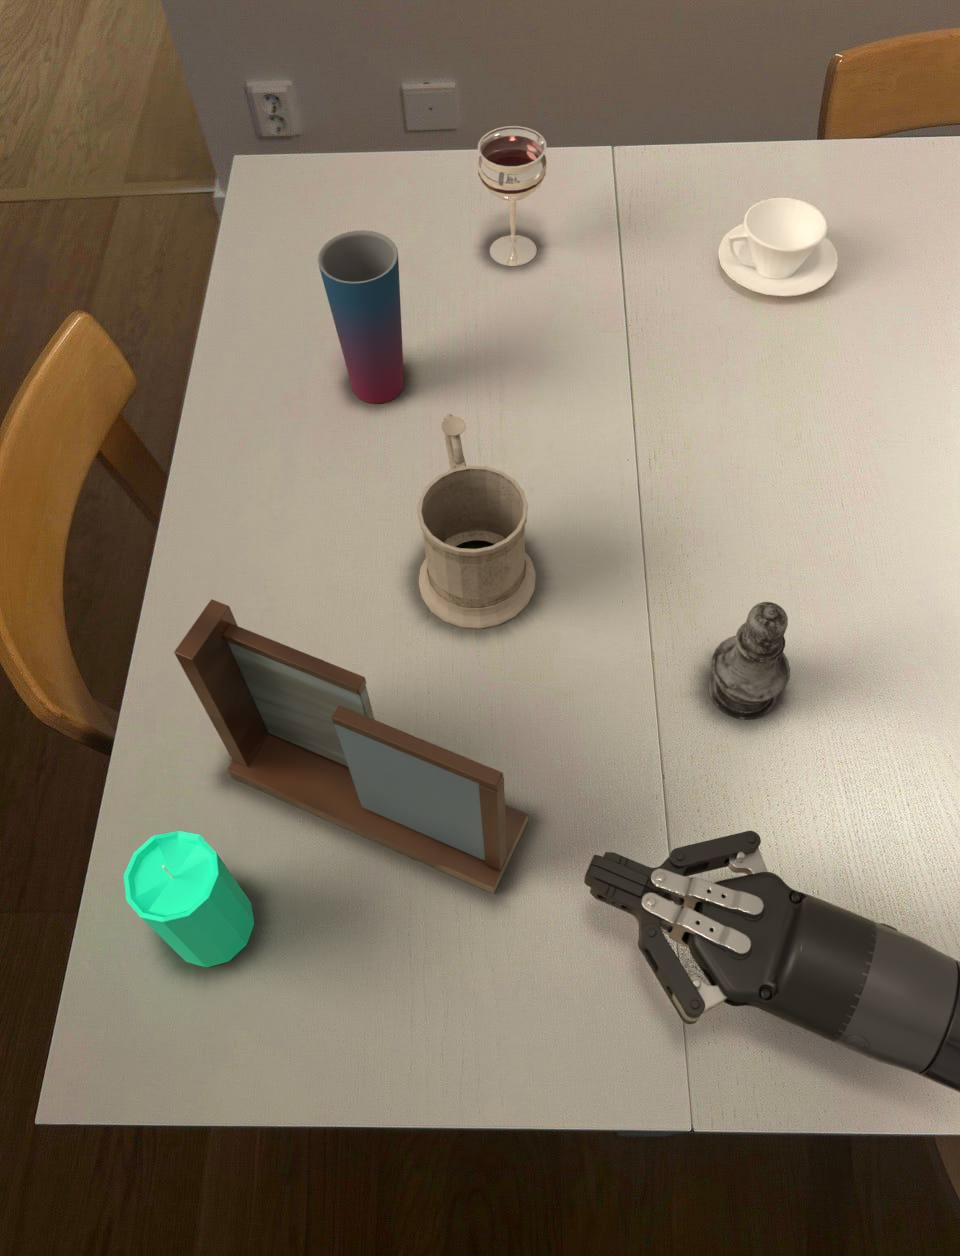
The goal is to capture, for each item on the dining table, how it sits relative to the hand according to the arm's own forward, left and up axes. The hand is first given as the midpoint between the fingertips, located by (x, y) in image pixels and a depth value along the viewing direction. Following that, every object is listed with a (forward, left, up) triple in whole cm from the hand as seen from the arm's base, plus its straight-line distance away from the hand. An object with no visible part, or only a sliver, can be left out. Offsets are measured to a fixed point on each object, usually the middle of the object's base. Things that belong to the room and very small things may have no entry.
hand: (589, 868), depth 68 cm
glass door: (0, +12, -6) cm, 13 cm away
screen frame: (+1, +17, -8) cm, 19 cm away
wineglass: (+62, +33, -8) cm, 71 cm away
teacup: (+70, +7, -8) cm, 71 cm away
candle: (-12, +23, -8) cm, 27 cm away
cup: (+39, +37, -8) cm, 55 cm away
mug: (+24, +20, -8) cm, 33 cm away
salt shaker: (+21, -5, -8) cm, 23 cm away
